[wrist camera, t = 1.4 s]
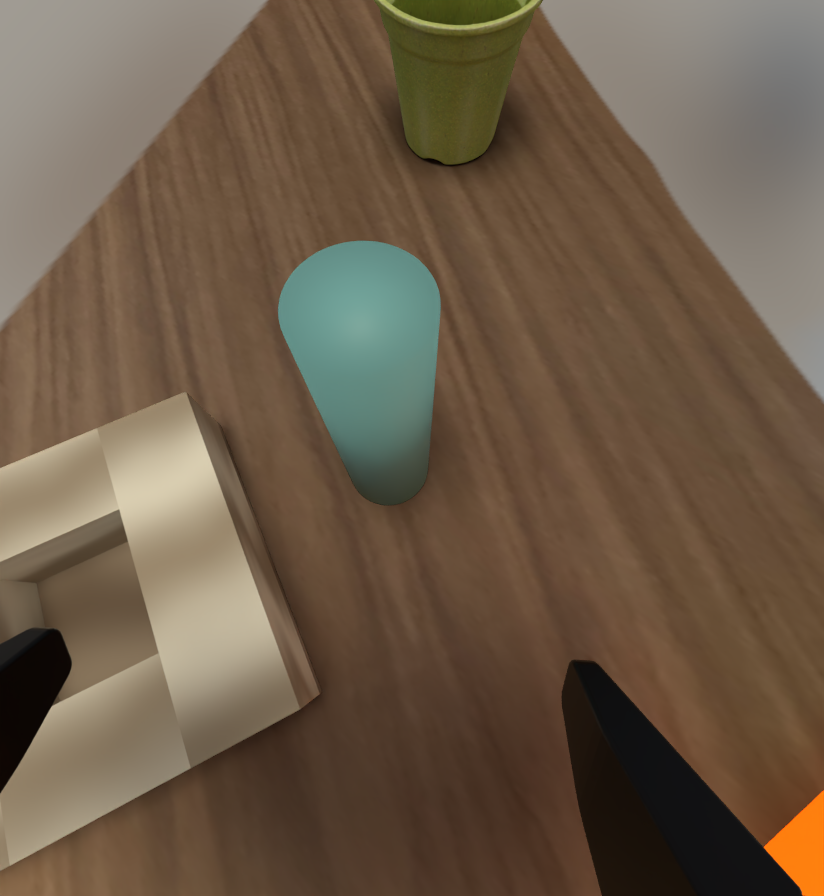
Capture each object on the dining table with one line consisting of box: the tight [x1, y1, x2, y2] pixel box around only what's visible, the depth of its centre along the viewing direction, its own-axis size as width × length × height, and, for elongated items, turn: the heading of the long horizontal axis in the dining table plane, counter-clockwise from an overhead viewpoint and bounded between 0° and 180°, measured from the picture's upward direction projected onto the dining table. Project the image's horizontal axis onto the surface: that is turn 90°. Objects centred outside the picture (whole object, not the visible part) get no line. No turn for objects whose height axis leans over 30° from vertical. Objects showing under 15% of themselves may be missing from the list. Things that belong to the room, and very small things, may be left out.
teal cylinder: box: [278, 241, 441, 505], centre depth 17 cm, size 4×4×13 cm
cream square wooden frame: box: [0, 392, 322, 871], centre depth 19 cm, size 14×14×4 cm
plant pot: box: [374, 0, 543, 164], centre depth 28 cm, size 9×9×9 cm
